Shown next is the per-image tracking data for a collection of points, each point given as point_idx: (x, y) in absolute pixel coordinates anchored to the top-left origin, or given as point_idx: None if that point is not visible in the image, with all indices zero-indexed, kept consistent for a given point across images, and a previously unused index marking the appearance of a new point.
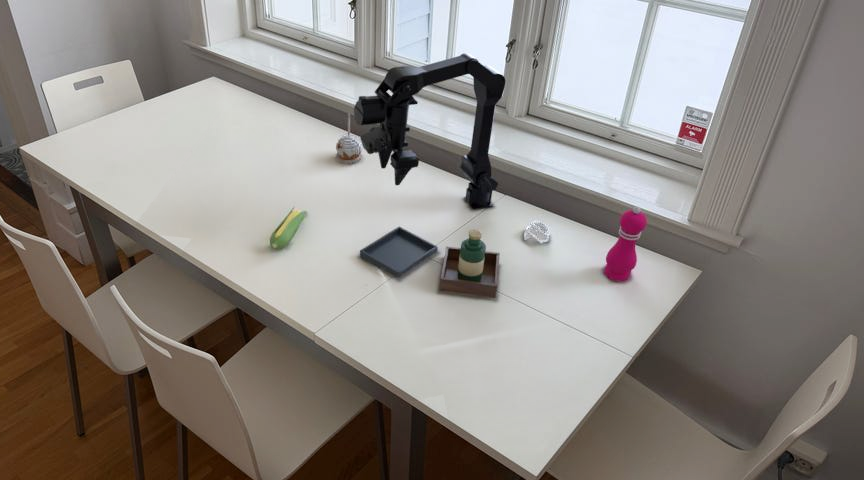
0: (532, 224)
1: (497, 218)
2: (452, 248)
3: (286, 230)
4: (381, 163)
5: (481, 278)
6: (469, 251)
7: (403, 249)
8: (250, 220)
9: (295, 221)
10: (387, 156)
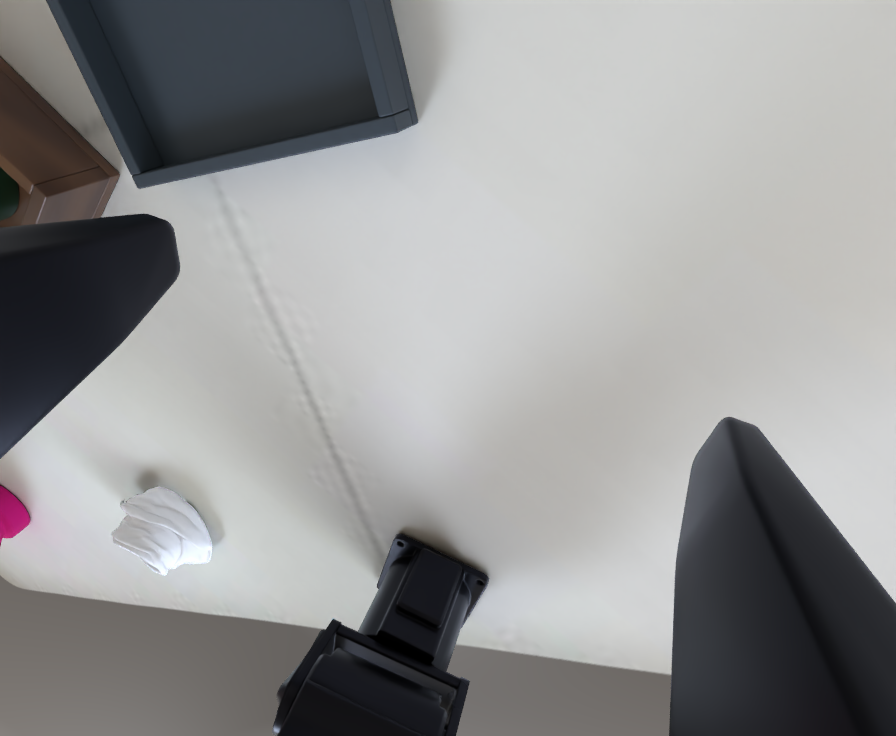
0: (142, 550)
1: (312, 535)
2: (26, 209)
3: None
4: (744, 484)
5: None
6: None
7: (222, 1)
8: None
9: None
10: (696, 707)
